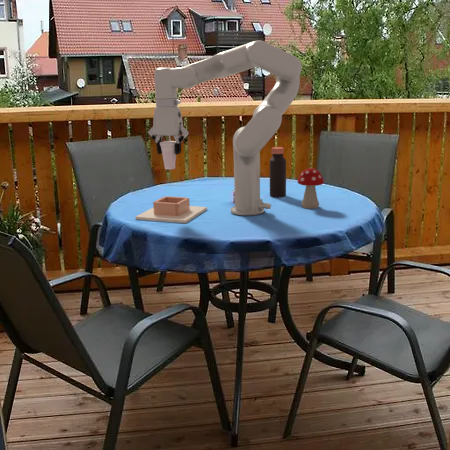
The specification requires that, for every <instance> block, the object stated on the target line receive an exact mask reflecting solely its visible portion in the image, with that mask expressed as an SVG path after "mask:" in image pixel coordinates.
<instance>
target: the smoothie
mask: <svg viewBox="0 0 450 450" xmlns="http://www.w3.org/2000/svg"><path fill="white" fill-rule="evenodd" d="M171 139H172V137H171V136H168V140H167V141H166V140H164V141H161V142H160V146H161V150H162V153H161V154H162V160H163V165H164V170H175V169H176V159H177V155H176V154H175V143H176V141H175V140H171Z"/></svg>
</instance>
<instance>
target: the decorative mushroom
mask: <svg viewBox="0 0 450 450" xmlns="http://www.w3.org/2000/svg"><path fill="white" fill-rule="evenodd" d="M324 182H325V181H324V177H323V175H322V173H321V172H320V171H319V170H318V169H317V168H312V167H309V168H305V169H304V170H302V171H301V172H300V174H299V176H298V179H297V184H298V185H301V186H305V189H304V192H303V198H302V201H301V202H300V204H301V206H302V207H301V208H303V209H312V210H313V209H318V208H319V206H320V201H319V200H318V195H317V189H316V187H317V186H322V185H323V184H324Z"/></svg>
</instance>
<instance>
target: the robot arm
mask: <svg viewBox="0 0 450 450" xmlns="http://www.w3.org/2000/svg"><path fill="white" fill-rule="evenodd" d="M257 67H258V68H259V69H261V70H263V71H265V72H267V73H269V74H272V75H274V76H276V81H275V84H274V86H273V87H272V88H271V90H270V91H269V93H268V94H267V95H266V96H265V97H264V99H263V100H262V101H261V102H260V104H259V105H258V106H257V107H256V108H255V109H254V111H253V114H252V117H251V119H250V120H249V121H248V122H247V124H246V125H245V126H241V127H239V128H238V129H236V131H235V132H234V134H233V137H232V146H233V147H232V150H233V175H234V176H233V182H234V185H233V187H234V189H233V191H234V206H232V207H230V213H232V214H233V215H237V216H257V215H261V214H263V213H264V212H265V209H266V210H271V208H272V204H271V203H270V202H264V201H263V198H261V179H260V178H261V169H260V168H261V156H260V151H262V149H263V148H264V147H265V146H266V145H267V144H268V142H269V141H270V140H271V139H272V138H273V136H274V135H275V134H276V132H277V131H278V129H279V128H280V127H281V124H282V119H283V114H285V112H286V111H287V109H288V108H289V107H290V106H291V105H292V103H293V102H294V100H295V99H296V97H297V95H298V92H299V89H300V80H301V77H300V75H301V72H302V63H301V61H300V59H299V58H298V57H297V56H296V55H293V54H291V53H289V52H287V51H285V50H283V49H280V48H279V47H276V46H274V45H273V44H271V43H269V42H267V41H265V40H259V39H258V40H253V41H250V42H247V43H245V44H242V45H239V46H236V47H233V48H231V49H227V50H224V51H221V52H219V53H217V54H214V55H213V56H210V57H208V58H206V59H202V60H199V61H197V62H194V63H191V64H187V65H185V66H181V67H175V68H173V67H157V68H155V70H154V71H153V76H154V77H153V78H154V90H155V91H154V93H155V107H154V110H153V117H152V118H153V121H152V123H153V125H152V127H151V128H150V129H149V130H148V131H147V133H148V135H149V136H150V137H151V138H152V140H153V141H154V142H155V144H156V151H157V154H158V155H160V154H162V150H161V146H160V142H162V141H163V137H164V136H167V137H169V136H170V137H171V136H172V137H173V139H174V141H176V143H175V154H176V156H177V155H180V154H181V152H182V143H183V141H184V140H185V138H186V137H188V135H189V134H190V132H189V131H188V130H187V129H186V128H185V127H184V122H183V115H182V112H181V108H180V107H179V106H178V105H180V104H181V100H180V99H178V98H177V97H178V95H177V94H178V92H177V89H183V90H184V89H186V90H187V89H192V88H194V86H197V85H199V84H203V83H206V82H209V81H211V80H216V79H221V78H226V77H227V78H228V77H231V76H233V75H236V74H239V73H241V72H245V71H248V70H250V69H251V70H252V69H254V68H257Z"/></svg>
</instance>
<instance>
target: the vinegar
mask: <svg viewBox="0 0 450 450" xmlns="http://www.w3.org/2000/svg"><path fill="white" fill-rule="evenodd" d="M284 152H285V148H284V147H282V146H274V147H271V155H272V157H270V159H269V196H270V197H272V198H285V197H286V196H287V159H286V158H285V157H284Z"/></svg>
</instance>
